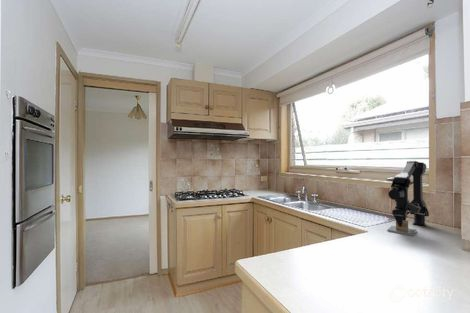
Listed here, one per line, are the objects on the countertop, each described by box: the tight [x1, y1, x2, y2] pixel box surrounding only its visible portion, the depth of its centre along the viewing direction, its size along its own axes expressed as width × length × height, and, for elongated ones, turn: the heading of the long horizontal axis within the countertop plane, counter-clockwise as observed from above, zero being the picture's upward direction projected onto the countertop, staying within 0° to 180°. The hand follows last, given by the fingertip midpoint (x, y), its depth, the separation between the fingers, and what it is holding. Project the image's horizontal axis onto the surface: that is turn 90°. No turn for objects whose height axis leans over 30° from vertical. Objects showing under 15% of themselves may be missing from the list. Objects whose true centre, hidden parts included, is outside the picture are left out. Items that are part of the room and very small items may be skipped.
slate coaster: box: [387, 225, 418, 237], centre depth 137 cm, size 12×12×1 cm
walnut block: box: [395, 220, 409, 231], centre depth 137 cm, size 5×5×5 cm
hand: (402, 225), depth 137 cm, fingers open, 9 cm apart
